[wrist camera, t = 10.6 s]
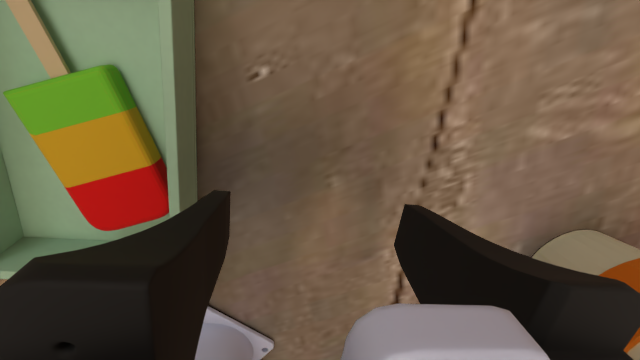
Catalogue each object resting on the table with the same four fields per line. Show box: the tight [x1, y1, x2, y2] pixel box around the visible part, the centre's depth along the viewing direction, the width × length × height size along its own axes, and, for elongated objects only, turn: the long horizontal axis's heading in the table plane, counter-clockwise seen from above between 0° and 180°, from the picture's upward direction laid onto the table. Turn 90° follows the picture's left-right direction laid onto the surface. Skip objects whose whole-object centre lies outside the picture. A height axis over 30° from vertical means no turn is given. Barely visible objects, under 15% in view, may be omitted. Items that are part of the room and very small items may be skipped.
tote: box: [0, 0, 197, 279], centre depth 17 cm, size 20×12×4 cm, turn 172°
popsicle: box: [3, 0, 169, 231], centre depth 18 cm, size 6×15×2 cm, turn 14°
